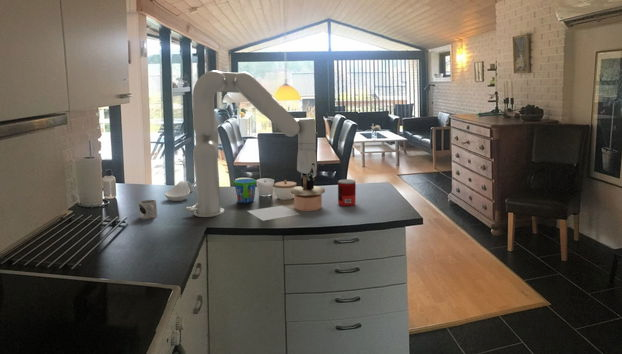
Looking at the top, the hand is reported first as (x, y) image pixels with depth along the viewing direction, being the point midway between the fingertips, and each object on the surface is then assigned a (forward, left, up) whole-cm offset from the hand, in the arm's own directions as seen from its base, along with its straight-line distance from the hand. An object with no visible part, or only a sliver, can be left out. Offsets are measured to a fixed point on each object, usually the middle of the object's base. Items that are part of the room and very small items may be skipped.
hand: (307, 187), depth 191 cm
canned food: (+18, -4, -9) cm, 21 cm away
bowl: (0, 0, -9) cm, 9 cm away
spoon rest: (-43, +53, -10) cm, 69 cm away
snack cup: (-19, +26, -9) cm, 34 cm away
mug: (-63, +22, -9) cm, 67 cm away
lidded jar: (-1, +20, -9) cm, 22 cm away
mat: (-17, 0, -9) cm, 19 cm away
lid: (0, 0, -2) cm, 2 cm away
